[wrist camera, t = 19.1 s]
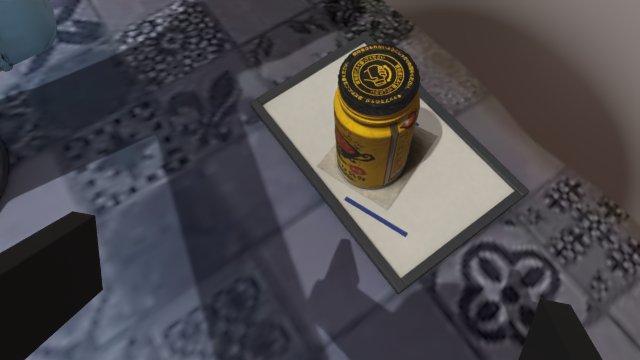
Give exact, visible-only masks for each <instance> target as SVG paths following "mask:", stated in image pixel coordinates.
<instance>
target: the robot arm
mask: <svg viewBox="0 0 640 360" xmlns="http://www.w3.org/2000/svg"><path fill="white" fill-rule="evenodd" d="M56 33H57V26H56V20H55V15H54V12H53V9H52V6H51V3H50V1H49V0H0V71H2V70H3V71H5V72H7V71H10V70H11V69H12V68H13V65H15V64H17V63H19V62H21V61H23V60H26V59H28V58H30V57H32V56H34V55H36V54H39V53H41V52H43V51H45V50H46V49H48V48H49V47H50V46H51V45H52V44H53V42H54V40H55V37H56ZM8 167H9V162H8V154H7V150H6V147H5V145H4V143H3V141H2V139H1V138H0V198H1V195H2V193H3V191H4V188H5V185H6V181H7V177H8ZM102 290H103V286H102V277H101V267H100V258H99V248H98V239H97V229H96V220H95V215H90V214H84V213H79V212H74V211H72V212H71V213H69V214H67V215H66V216H64V217H62V218H60V219H59V220H57V221H55V222H53V223H52V224H50V225H48V226H46V227H45V228H43V229H41V230H40V231H38V232H36V233H34V234H33V235H31V236H29V237H27V238H26V239H24V240H22V241H20V242H19V243H17V244H15V245H14V246H12V247H10V248H8V249H7V250H5V251H3V252H1V253H0V360H25V359H26V358H27V357H28V356H29V355H30V354H31V353H33V352H34V351H35V350H36V349H37V348H38V347H39V346H40V345H42V344H43V343H44V342H45V341H46V340H47V339H48V338H49V337H50V336H52V335H53V334H54V333H55V332H56V331H57V330H58V329H59V328H61V327H62V326H63V325H64V324H65V323H66V322H67V321H68V320H69V319H71V318H72V317H73V316H74V315H75V314H76V313H77V312H78V311H80V310H81V309H82V308H83V307H84V306H85V305H86V304H87V303H88V302H90V301H91V300H92V299H93V298H94V297H95V296H96V295H97V294H99V293H100V292H101V291H102ZM519 360H602V358H601V356H600V355H599V353H598V351H597V350H596V348H595V346H594V344H593V343H592V341H591V339H590V338H589V336H588V334H587V332H586V331H585V329H584V327H583V326H582V324H581V322H580V320H579V319H578V317H577V315H576V314H575V312H574V310H573V308H572V307H571V305H569V304H564V303H559V302H553V301H548V300H543V299H540V301H539V303H538V306H537V309H536V312H535V315H534V318H533V320H532V323H531V326H530V329H529V332H528V335H527V337H526V340H525V343H524V346H523V349H522V352H521V354H520V357H519Z"/></svg>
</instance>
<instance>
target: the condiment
mask: <svg viewBox="0 0 640 360" xmlns="http://www.w3.org/2000/svg"><path fill="white" fill-rule="evenodd" d="M420 85H421V83H420V76H419V71H418V69H417V65H416V64H415V63H414V61H413V60H412V58H411V57H410V55H409V54H407V53H406V52H404V51H403V50H400V49H398V48H397V47H394V46H390V45H387V44H371V45H367V46H364V47H362V48H359V49H357V50H354V51H353V52H352V53H351V54H349V55H348V57H347V58H346V59H345V60H344V62H343V63H342V65H341V66H340V70H339V74H338V87H337V89H336V92H335V97H334V120H335V140H336V143H335V144H334V146H333V147H332V148H331V149H330V151H329V152H328V153H327V154H326V156H325V157H324V158H323V160H322V161H321V162H320V163H319V164H318V165H317V167H318V168H320V169H321V170H323V171H324V172H326V173H327V174H329V175H331V176H332V177H334V178H335V179H337V180H338V181H340V182H342V183H343V184H345V185H346V186H348V187H349V188H351V189H353V190H354V191H356V192H358V193H359V194H361V195H363V196H364V197H366V198H368V199H369V200H371V201H373V202H374V203H376V204H378V205H379V206H381V207H382V208H384V209H386V210H388V209H389V207H390V206H391V204H392V203H393V201H394V200H395V198H396V197H397V196H398V194H399V193H400V191H401V190H402V188H403V187H404V185H405V184H406V183H407V181H408V180H409V178H410V177H411V175H412V174H413V172H414V171H415V169H416V168H417V166H418V165H419V163H420V162H421V161H422V159H423V158H424V156H425V155H426V153H427V152H428V150H429V149H430V147H431V146H432V144H433V143H434V142H435V140H436V139H437V137H438V136H437V135H434V134H433V133H431V132H428V131H426V130H424V129H422V128H420V127H418V126H416V121H417V118H418V114H419V110H420V96H419V94H418V93H419V90H418V89H419V87H420Z"/></svg>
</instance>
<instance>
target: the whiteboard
mask: <svg viewBox="0 0 640 360" xmlns="http://www.w3.org/2000/svg"><path fill="white" fill-rule="evenodd" d="M371 44H377V43H376V42H375V41H374V40H373V39H372V38H371V37H370V36H369V35H368V34H367V33H366V32H365V33H364V34H362V35H360V36H358V37H357V38H355V39H353V40H352V41H350V42H348V43H347V44H345V45H344V46H342V47H340V48H339V49H337V50H335V51H334V52H332V53H330V54H329V55H327V56H325V57H324V58H322V59H320V60H319V61H317V62H316V63H314V64H312V65H311V66H309V67H307V68H306V69H304V70H302V71H301V72H299V73H297V74H296V75H294V76H293V77H291V78H289V79H288V80H286V81H284V82H283V83H281V84H279V85H278V86H276V87H274V88H273V89H271V90H269V91H268V92H266V93H265V94H263V95H261V96H260V97H258V98H257V99H255V100H253V101H252V102H250V104H251V107H252V109H253V110H254V112H255V113H256V114H257V116H258V117H259V118H260V119H261V121H262V122H263V123H264V124H265V126H266V127H267V128H268V130H269V131H270V132H271V133H272V135H273V136H274V137H275V138H276V140H277V141H278V142H279V144H280V145H281V146H282V147H283V149H284V150H285V151H286V153H287V154H288V155H289V156H290V158H291V159H292V160H293V161H294V163H295V164H296V165H297V167H298V168H299V169H300V170H301V172H302V173H303V174H304V176H305V177H306V178H307V179H308V181H309V182H310V183H311V184H312V186H313V187H314V188H315V190H316V191H317V192H318V193H319V195H320V196H321V197H322V198H323V200H324V201H325V202H326V204H327V205H328V206H329V207H330V209H331V210H332V211H333V213H334V214H335V215H336V216H337V218H338V219H339V220H340V221H341V223H342V224H343V225H344V227H345V228H346V229H347V230H348V232H349V233H350V234H351V236H352V237H353V238H354V239H355V241H356V242H357V243H358V244H359V246H360V247H361V248H362V250H363V251H364V252H365V253H366V255H367V256H368V257H369V258H370V260H371V261H372V262H373V264H374V265H375V266H376V267H377V269H378V270H379V271H380V273H381V274H382V275H383V276H384V278H385V279H386V280H387V281H388V283H389V284H390V285H391V287H392V288H393V289H394V290H395V292H396V293H397V294H400V293H401V292H402V291H403V290H405V289H406V288H407V287H409V286H410V285H411V284H413V283H414V282H415V281H416V280H418V279H419V278H420V277H422V276H423V275H424V274H425V273H427V272H428V271H429V270H431V269H432V268H433V267H434V266H436V265H437V264H438V263H440V262H441V261H442V260H443V259H445V258H446V257H447V256H449V255H450V254H451V253H452V252H454V251H455V250H456V249H458V248H459V247H460V246H461V245H463V244H464V243H465V242H467V241H468V240H469V239H471V238H472V237H473V236H474V235H476V234H477V233H478V232H480V231H481V230H482V229H483V228H485V227H486V226H487V225H489V224H490V223H491V222H492V221H494V220H495V219H496V218H498V217H499V216H500V215H501V214H503V213H504V212H505V211H507V210H508V209H509V208H510V207H512V206H513V205H514V204H516V203H517V202H518V201H519V200H521V199H522V198H523V197H525V196H526V195H527V194H528V193H529V190H528V189H527V188H526V187H525V186H524V185H523V184H522V183H521V182H520V181H519V180H518V179H517V178H516V177H515V176H514V175H513V174H512V173H510V172H509V171H508V170H507V169H506V168H505V167H504V166H503V165H502V164H501V163H500V162H499V161H498V160H497V159H496V158H495V157H494V156H493V155H492V154H491V153H490V152H489V151H488V150H487V149H486V148H485V147H484V146H483V145H482V144H481V143H480V142H478V141H477V140H476V139H475V138H474V137H473V136H472V135H471V134H470V133H469V132H468V131H467V130H466V129H465V128H464V127H463V126H462V125H461V124H460V123H459V122H458V121H457V120H456V119H455V118H454V117H453V116H452V115H451V114H450V113H449V112H448V111H446V110H445V109H444V108H443V107H442V106H441V105H440V104H439V103H438V102H437V101H436V100H435V99H434V98H433V97H432V96H431V95H430V94H429V93H428V92H427V91H426V90H425V89H424V88H423V87H422V86H421V85H420V87H419V89H418V90H419V93H418V94H419V96H420V110H419V114H418V118H417V121H416V126H418V127H420V128H422V129H424V130H426V131H428V132H431V133H433V134H434V135H437V136H438V137H437V139H436V140H435V142H434V143H433V144H432V146H431V147H430V149H429V150H428V152H427V153H426V155H425V156H424V158H423V159H422V161H421V162H420V163H419V165H418V166H417V168H416V169H415V171H414V172H413V174H412V175H411V177H410V178H409V180H408V181H407V183H406V184H405V185H404V187H403V188H402V190H401V191H400V193H399V194H398V196H397V197H396V198H395V200H394V201H393V203H392V204H391V206H390V207H389V209H388V210H386V209H384V208H382V207H381V206H379V205H378V204H376V203H374V202H373V201H371V200H369V199H368V198H366V197H364V196H363V195H361V194H359V193H358V192H356V191H354V190H353V189H351V188H349V187H348V186H346V185H345V184H343V183H342V182H340V181H338V180H337V179H335V178H334V177H332V176H331V175H329V174H327V173H326V172H324V171H323V170H321V169H320V168H318V167H317V165H318V164H319V163H320V162H321V161H322V160H323V158H324V157H325V156H326V154H327V153H328V152H329V151H330V149H331V148H332V147H333V146H334V144H335V143H336V140H335V120H334V97H335V92H336V89H337V87H338V74H339V70H340V66H341V65H342V63H343V62H344V60H345V59H346V58H347V57H348V55H349V54H351V53H352V52H353V51H354V50H357V49H359V48H362V47H364V46H367V45H371Z"/></svg>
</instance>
